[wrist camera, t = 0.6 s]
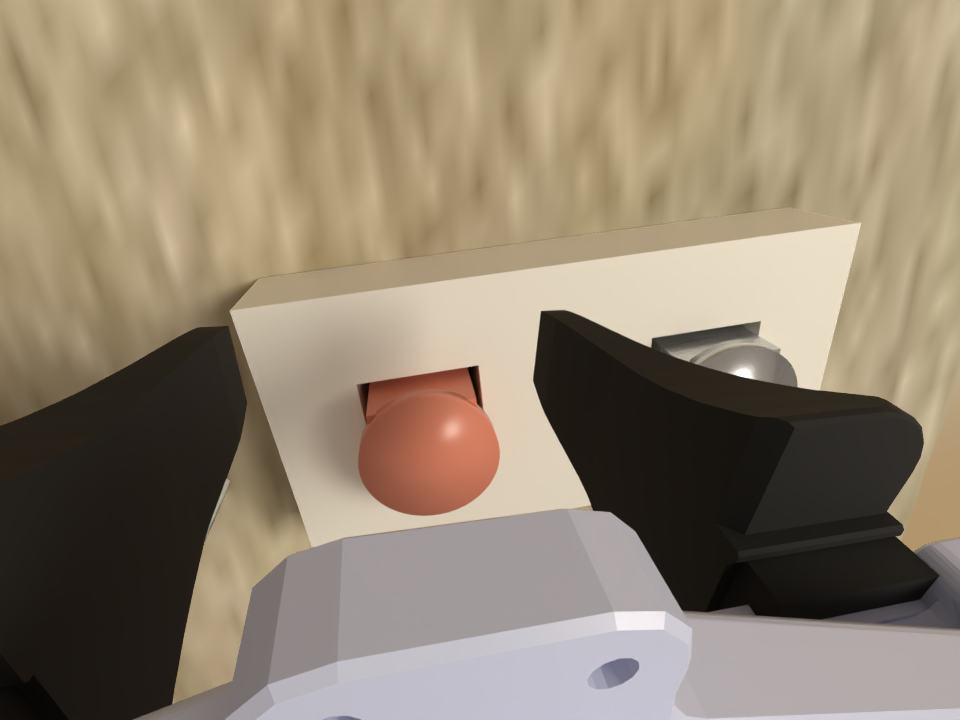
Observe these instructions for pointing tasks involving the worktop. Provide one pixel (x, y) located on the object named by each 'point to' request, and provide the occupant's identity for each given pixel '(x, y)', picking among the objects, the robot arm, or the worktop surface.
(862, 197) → the worktop surface
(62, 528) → the robot arm
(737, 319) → the control box
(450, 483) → the red button
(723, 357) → the grey button
